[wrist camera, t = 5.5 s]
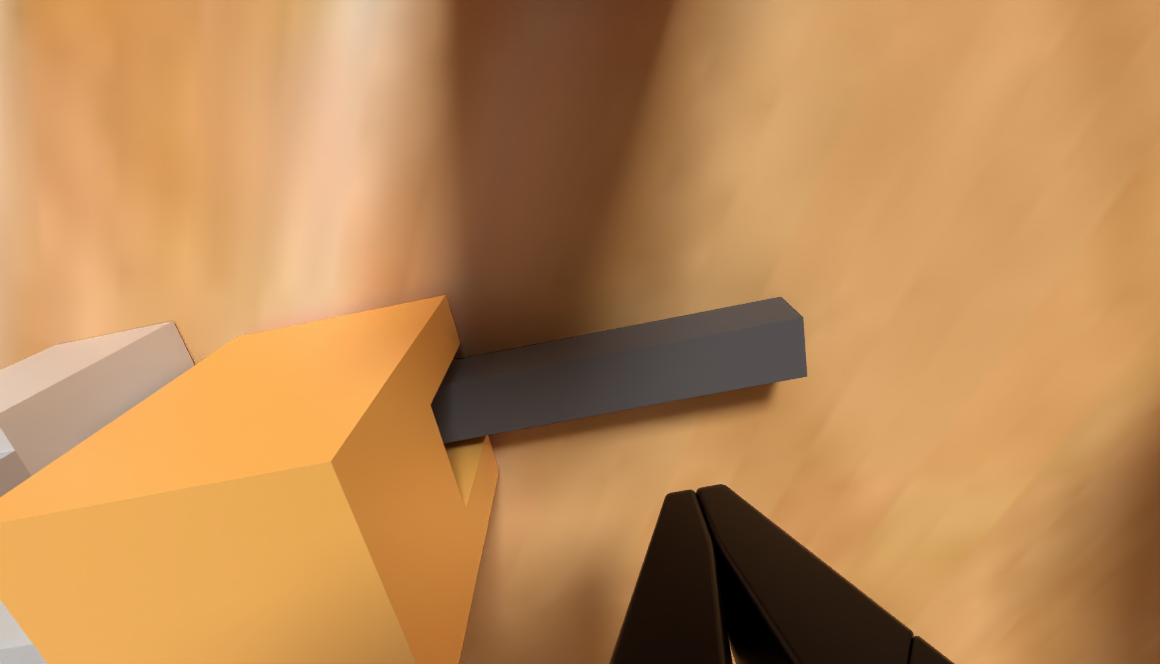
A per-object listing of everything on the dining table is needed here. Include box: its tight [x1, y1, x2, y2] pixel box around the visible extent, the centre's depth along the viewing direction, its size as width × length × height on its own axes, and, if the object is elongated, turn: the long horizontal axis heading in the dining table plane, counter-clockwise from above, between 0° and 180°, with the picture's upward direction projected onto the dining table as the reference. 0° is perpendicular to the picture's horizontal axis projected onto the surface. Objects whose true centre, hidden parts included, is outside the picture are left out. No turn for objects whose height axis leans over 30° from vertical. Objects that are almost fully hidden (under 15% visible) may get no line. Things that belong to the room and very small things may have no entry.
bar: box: [431, 297, 807, 443], centre depth 14 cm, size 17×1×1 cm, turn 102°
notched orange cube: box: [0, 295, 499, 664], centre depth 11 cm, size 5×5×7 cm
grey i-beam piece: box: [0, 321, 195, 664], centre depth 12 cm, size 3×6×5 cm, turn 12°
